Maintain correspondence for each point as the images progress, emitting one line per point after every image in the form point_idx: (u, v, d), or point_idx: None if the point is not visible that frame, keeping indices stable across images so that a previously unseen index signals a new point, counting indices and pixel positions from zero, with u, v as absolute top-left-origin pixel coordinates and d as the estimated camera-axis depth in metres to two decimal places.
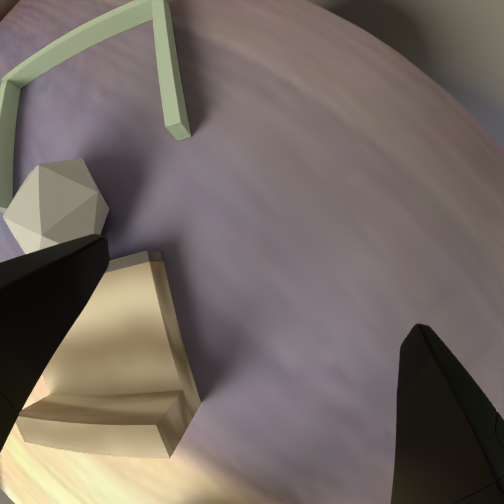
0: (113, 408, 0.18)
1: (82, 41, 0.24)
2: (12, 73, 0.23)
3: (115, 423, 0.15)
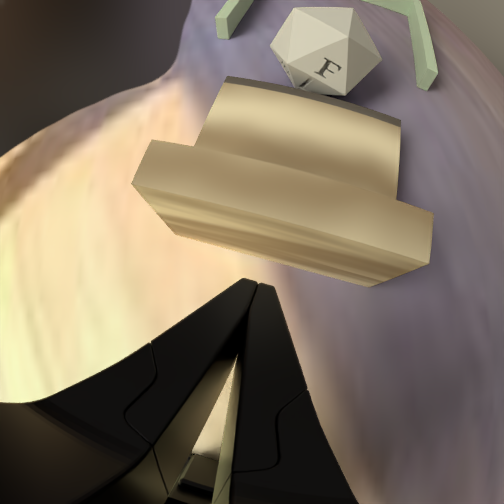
0: None
1: None
2: None
3: (377, 196, 0.13)
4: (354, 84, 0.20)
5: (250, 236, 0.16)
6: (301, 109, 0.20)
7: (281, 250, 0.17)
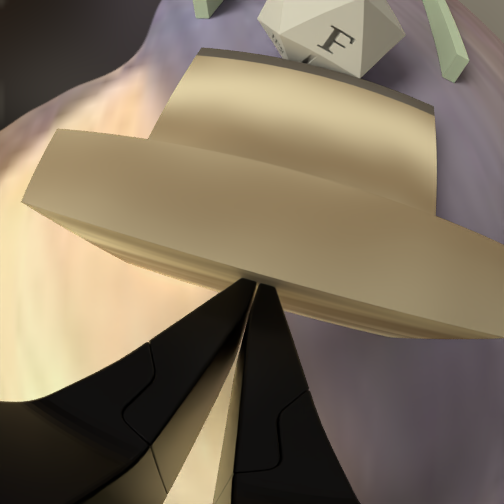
0: None
1: None
2: None
3: (434, 220, 0.07)
4: (372, 64, 0.14)
5: (216, 280, 0.10)
6: (300, 86, 0.14)
7: None
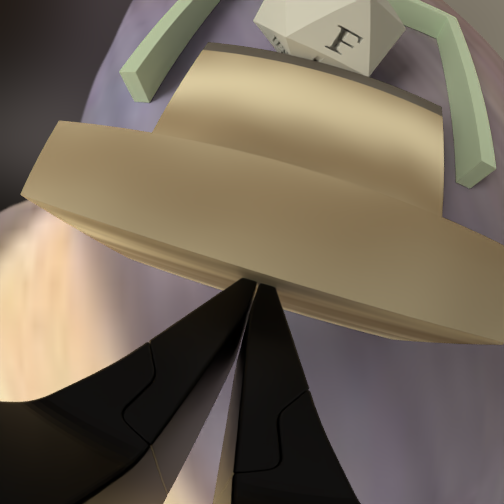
0: None
1: None
2: None
3: (443, 222, 0.06)
4: (378, 61, 0.14)
5: (218, 279, 0.10)
6: (308, 83, 0.14)
7: None
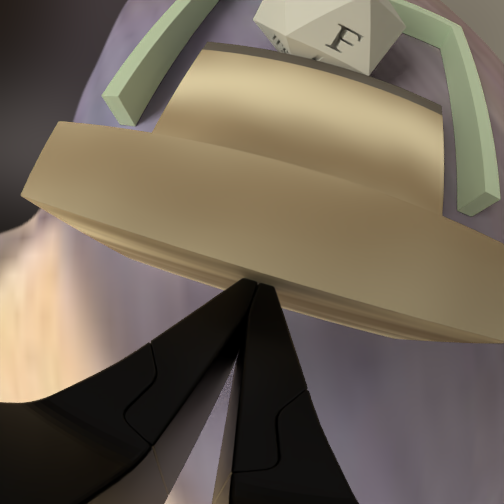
0: None
1: None
2: None
3: (443, 221, 0.06)
4: (379, 60, 0.14)
5: (218, 278, 0.10)
6: (307, 82, 0.14)
7: None
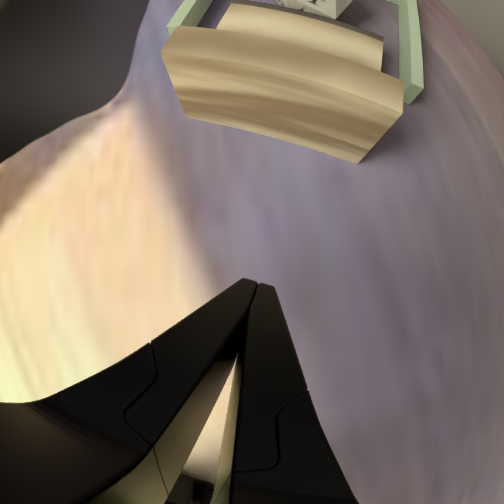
0: None
1: None
2: None
3: (356, 65, 0.14)
4: (342, 10, 0.20)
5: (254, 101, 0.18)
6: (297, 23, 0.20)
7: (279, 116, 0.19)
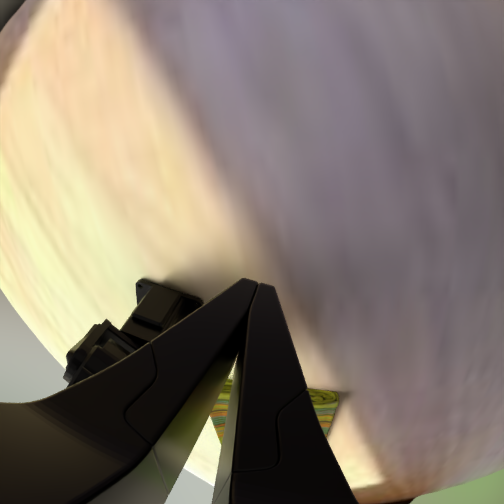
0: None
1: None
2: None
3: None
4: None
5: None
6: None
7: None
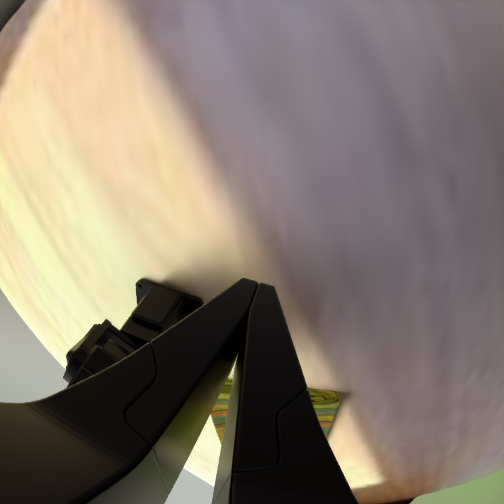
0: None
1: None
2: None
3: None
4: None
5: None
6: None
7: None
